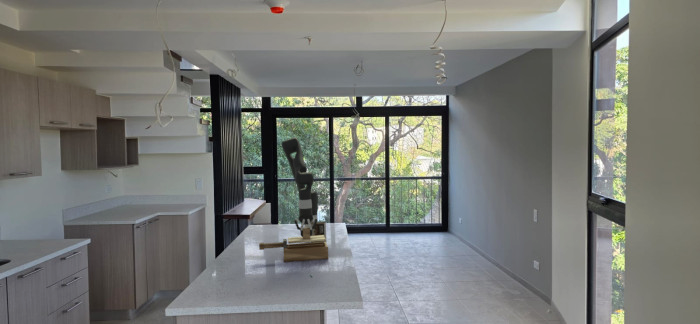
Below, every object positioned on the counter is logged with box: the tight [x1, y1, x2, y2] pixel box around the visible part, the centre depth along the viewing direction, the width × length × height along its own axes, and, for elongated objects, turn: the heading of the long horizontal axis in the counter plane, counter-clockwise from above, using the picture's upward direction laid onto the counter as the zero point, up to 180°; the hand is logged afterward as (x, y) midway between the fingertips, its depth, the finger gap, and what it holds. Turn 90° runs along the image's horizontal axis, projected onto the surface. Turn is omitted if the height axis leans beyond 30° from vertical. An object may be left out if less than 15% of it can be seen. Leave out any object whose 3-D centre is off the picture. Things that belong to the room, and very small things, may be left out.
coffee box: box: [310, 221, 327, 243], centre depth 245 cm, size 9×6×16 cm
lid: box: [287, 226, 325, 244], centre depth 225 cm, size 9×21×7 cm, turn 100°
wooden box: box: [282, 238, 329, 263], centre depth 225 cm, size 12×25×11 cm, turn 100°
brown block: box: [258, 241, 283, 251], centre depth 221 cm, size 3×14×3 cm, turn 100°
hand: (306, 236), depth 225 cm, fingers closed on lid, 4 cm apart
